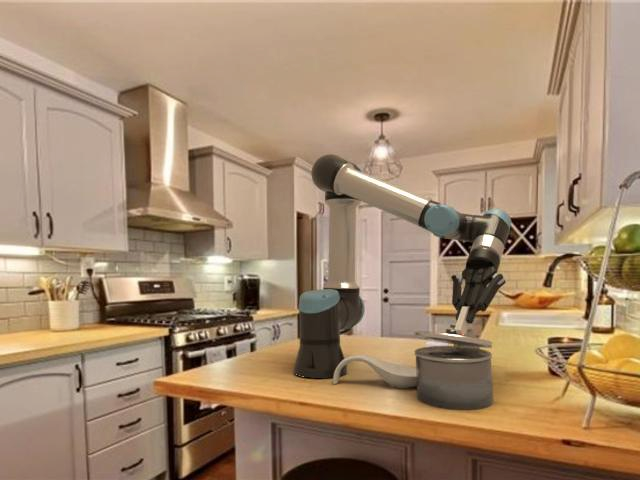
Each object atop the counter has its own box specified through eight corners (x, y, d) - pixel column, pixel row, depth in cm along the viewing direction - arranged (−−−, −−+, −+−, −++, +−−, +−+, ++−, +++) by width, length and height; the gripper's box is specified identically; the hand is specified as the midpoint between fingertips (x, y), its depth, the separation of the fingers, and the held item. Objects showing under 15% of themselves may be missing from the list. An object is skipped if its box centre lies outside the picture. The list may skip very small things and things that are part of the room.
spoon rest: (425, 380, 108) (424, 352, 108) (430, 393, 96) (428, 361, 97) (336, 378, 112) (336, 351, 112) (330, 390, 100) (329, 360, 101)
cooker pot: (442, 383, 103) (440, 342, 104) (509, 395, 92) (506, 350, 93) (401, 399, 91) (400, 353, 92) (473, 415, 79) (470, 363, 80)
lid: (437, 342, 103) (437, 332, 104) (504, 350, 92) (504, 338, 92) (399, 333, 92) (400, 322, 93) (470, 340, 81) (471, 327, 81)
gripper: (516, 266, 101) (494, 346, 88) (465, 268, 110) (439, 341, 97) (506, 244, 98) (482, 324, 84) (455, 248, 107) (426, 321, 93)
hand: (459, 333), depth 91 cm, fingers closed
